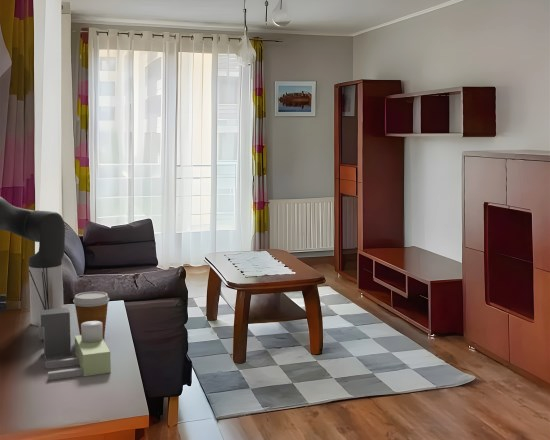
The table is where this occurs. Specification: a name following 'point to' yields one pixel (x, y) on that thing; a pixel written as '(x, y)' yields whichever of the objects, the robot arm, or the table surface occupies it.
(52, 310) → the grey lidded box
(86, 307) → the disposable coffee cup
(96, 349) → the pale green boxy piece
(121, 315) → the table surface
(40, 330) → the reed diffuser
